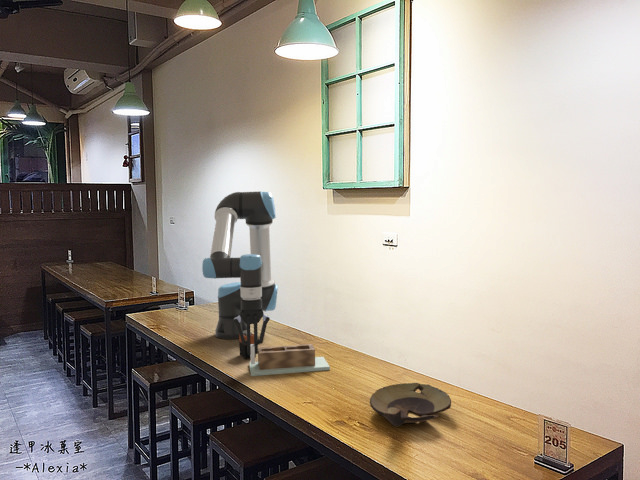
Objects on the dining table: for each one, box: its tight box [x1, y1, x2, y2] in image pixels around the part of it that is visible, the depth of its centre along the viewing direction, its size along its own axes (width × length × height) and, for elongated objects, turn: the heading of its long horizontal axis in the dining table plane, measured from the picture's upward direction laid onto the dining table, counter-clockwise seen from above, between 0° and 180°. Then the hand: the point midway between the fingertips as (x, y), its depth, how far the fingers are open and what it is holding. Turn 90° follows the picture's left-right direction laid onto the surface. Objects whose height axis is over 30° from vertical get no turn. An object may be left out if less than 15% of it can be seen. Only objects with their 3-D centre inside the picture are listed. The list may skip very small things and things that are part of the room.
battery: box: [238, 330, 257, 360], centre depth 208 cm, size 4×7×10 cm, turn 29°
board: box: [248, 356, 331, 377], centre depth 194 cm, size 28×12×4 cm, turn 101°
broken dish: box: [369, 382, 452, 427], centre depth 150 cm, size 22×30×8 cm
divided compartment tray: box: [257, 343, 316, 370], centre depth 193 cm, size 20×7×6 cm, turn 100°
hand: (252, 362), depth 191 cm, fingers closed
